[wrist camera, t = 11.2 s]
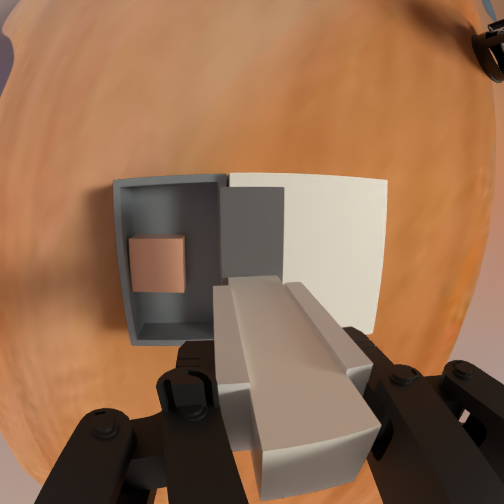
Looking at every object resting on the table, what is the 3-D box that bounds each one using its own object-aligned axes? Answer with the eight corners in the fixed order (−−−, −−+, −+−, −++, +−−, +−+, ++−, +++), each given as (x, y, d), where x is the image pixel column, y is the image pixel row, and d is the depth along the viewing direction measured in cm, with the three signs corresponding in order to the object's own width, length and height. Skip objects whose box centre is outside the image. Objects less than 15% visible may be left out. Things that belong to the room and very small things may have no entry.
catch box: (127, 181, 23) (112, 180, 19) (224, 176, 24) (226, 173, 20) (140, 325, 26) (131, 345, 22) (227, 323, 27) (230, 344, 23)
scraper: (218, 186, 16) (242, 189, 3) (271, 186, 16) (445, 200, 3) (224, 357, 18) (249, 541, 6) (268, 354, 18) (331, 526, 6)
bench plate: (226, 176, 24) (229, 172, 19) (359, 180, 26) (387, 180, 21) (229, 323, 27) (233, 350, 22) (350, 312, 29) (372, 333, 24)
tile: (182, 238, 22) (185, 233, 24) (128, 238, 21) (136, 234, 24) (184, 292, 23) (186, 283, 25) (132, 291, 22) (139, 282, 25)
